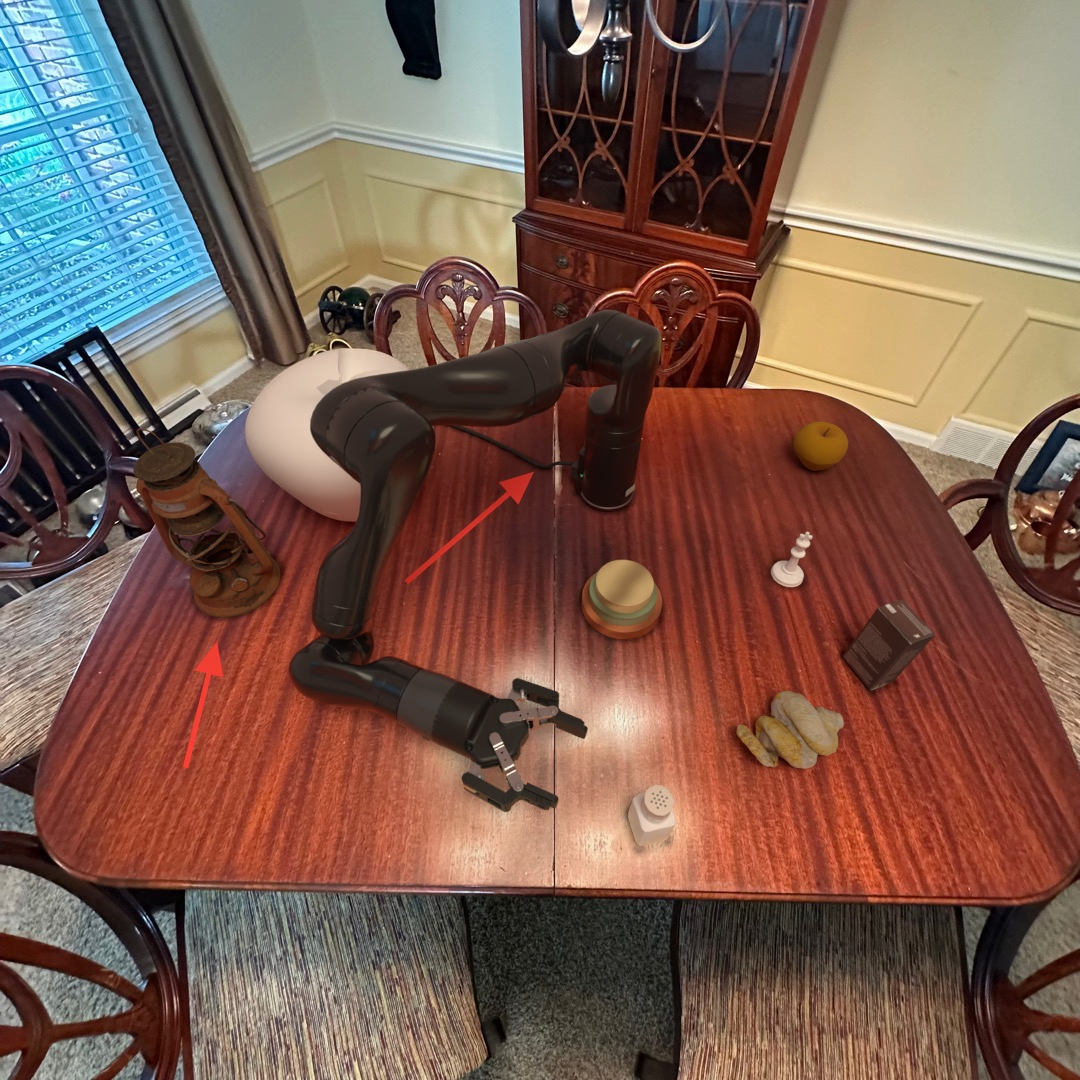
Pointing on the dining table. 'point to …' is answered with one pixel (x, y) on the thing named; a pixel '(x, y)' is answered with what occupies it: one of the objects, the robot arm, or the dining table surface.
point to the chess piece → (792, 564)
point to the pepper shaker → (652, 815)
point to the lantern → (196, 507)
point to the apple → (820, 445)
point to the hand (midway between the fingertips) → (572, 766)
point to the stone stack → (793, 732)
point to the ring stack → (621, 600)
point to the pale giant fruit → (285, 429)
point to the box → (887, 644)
